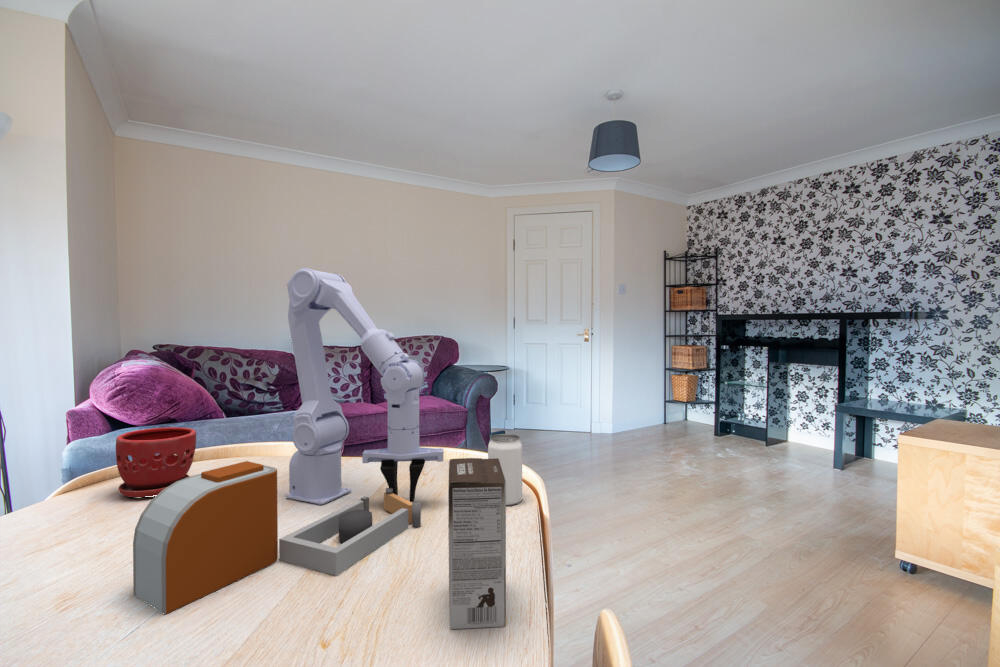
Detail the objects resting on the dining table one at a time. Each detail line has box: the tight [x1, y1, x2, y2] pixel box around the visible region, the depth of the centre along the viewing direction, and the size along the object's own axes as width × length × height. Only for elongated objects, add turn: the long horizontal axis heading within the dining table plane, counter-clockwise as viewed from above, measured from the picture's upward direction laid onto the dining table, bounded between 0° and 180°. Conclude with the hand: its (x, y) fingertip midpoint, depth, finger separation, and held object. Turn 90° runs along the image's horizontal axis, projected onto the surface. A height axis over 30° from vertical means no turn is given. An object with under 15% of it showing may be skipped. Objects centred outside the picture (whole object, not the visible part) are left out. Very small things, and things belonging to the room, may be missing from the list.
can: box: [487, 433, 523, 507], centre depth 87 cm, size 6×6×12 cm
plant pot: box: [115, 426, 197, 498], centre depth 93 cm, size 13×13×12 cm
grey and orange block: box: [132, 460, 279, 615], centre depth 61 cm, size 15×8×14 cm, turn 150°
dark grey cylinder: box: [338, 510, 373, 545], centre depth 72 cm, size 5×5×4 cm
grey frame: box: [278, 496, 409, 576], centre depth 71 cm, size 10×18×3 cm, turn 156°
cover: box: [383, 487, 422, 528], centre depth 79 cm, size 10×1×4 cm, turn 43°
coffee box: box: [447, 457, 507, 630], centre depth 54 cm, size 9×6×16 cm
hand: (403, 500), depth 85 cm, fingers open, 2 cm apart
